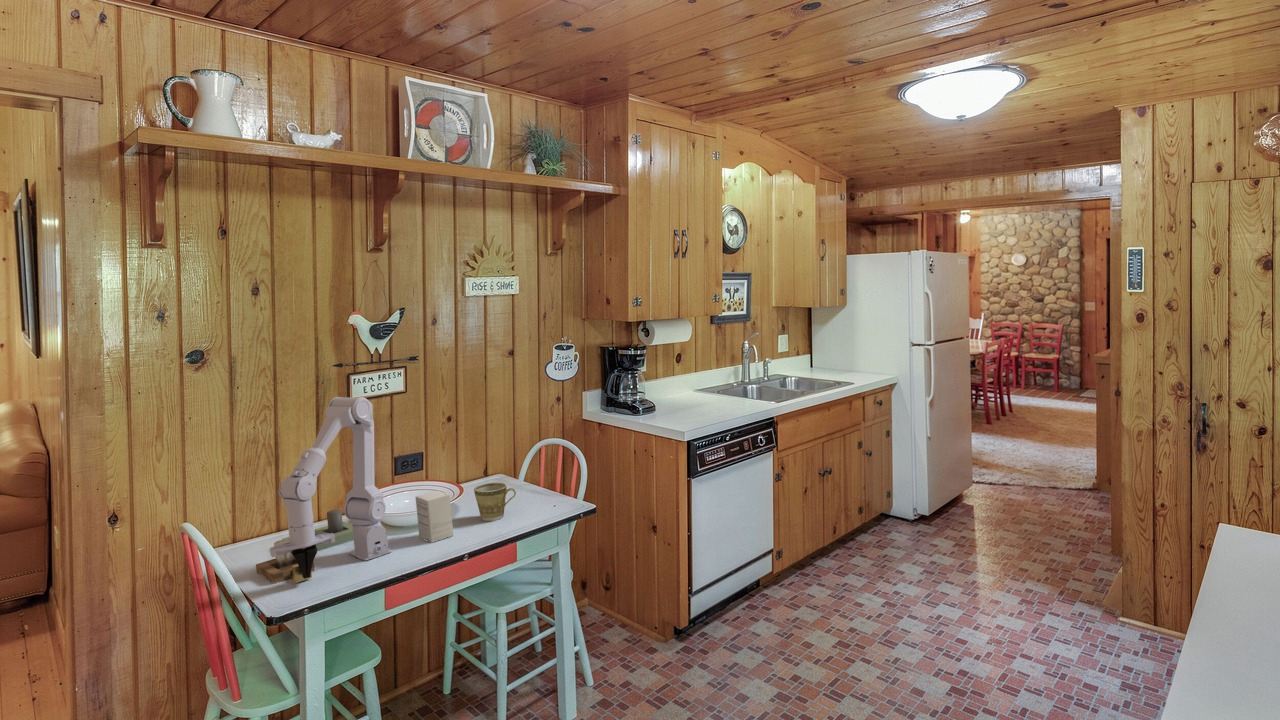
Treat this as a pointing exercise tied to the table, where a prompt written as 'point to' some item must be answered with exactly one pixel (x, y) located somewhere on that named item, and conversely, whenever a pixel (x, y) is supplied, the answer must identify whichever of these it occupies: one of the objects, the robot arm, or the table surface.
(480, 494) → the ceramic cup
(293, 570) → the tan block with bar
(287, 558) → the steel peg
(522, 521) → the table surface
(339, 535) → the tool rack
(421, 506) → the supplement box
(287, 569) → the socket holder
